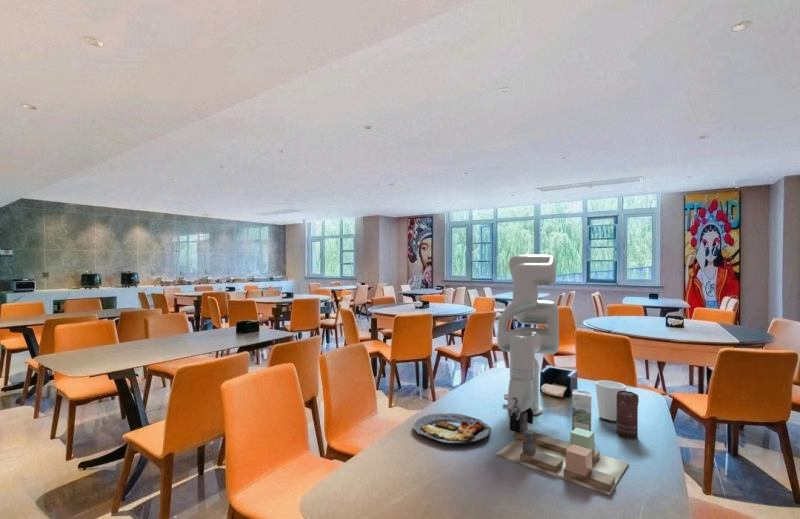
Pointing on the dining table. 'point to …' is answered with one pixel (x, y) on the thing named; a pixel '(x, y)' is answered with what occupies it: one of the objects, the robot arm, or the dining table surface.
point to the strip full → (548, 439)
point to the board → (601, 464)
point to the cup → (608, 398)
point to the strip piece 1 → (537, 453)
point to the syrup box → (581, 409)
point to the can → (627, 415)
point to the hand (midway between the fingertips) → (521, 427)
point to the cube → (582, 438)
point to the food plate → (452, 428)
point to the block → (579, 460)
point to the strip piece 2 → (593, 479)
